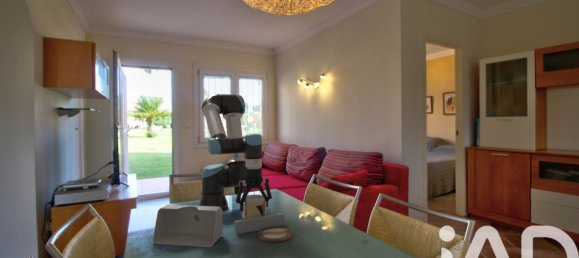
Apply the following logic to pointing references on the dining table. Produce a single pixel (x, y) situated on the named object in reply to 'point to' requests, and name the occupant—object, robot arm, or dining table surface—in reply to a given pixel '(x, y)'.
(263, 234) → the walnut mat
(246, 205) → the coffee cup
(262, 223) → the grey wall
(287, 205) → the dining table surface
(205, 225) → the white open storage bin
